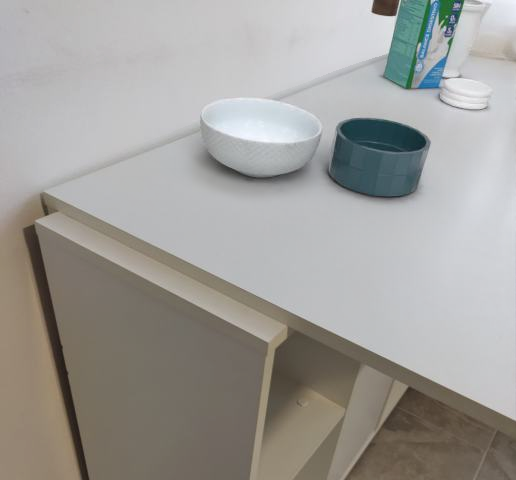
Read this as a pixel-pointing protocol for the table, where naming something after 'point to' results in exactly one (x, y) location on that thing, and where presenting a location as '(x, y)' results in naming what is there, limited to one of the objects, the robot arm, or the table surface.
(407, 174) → the bowl
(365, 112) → the table surface
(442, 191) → the table surface
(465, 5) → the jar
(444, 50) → the milk carton
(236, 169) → the cereal bowl
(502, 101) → the table surface
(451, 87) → the coaster
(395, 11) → the pestle
